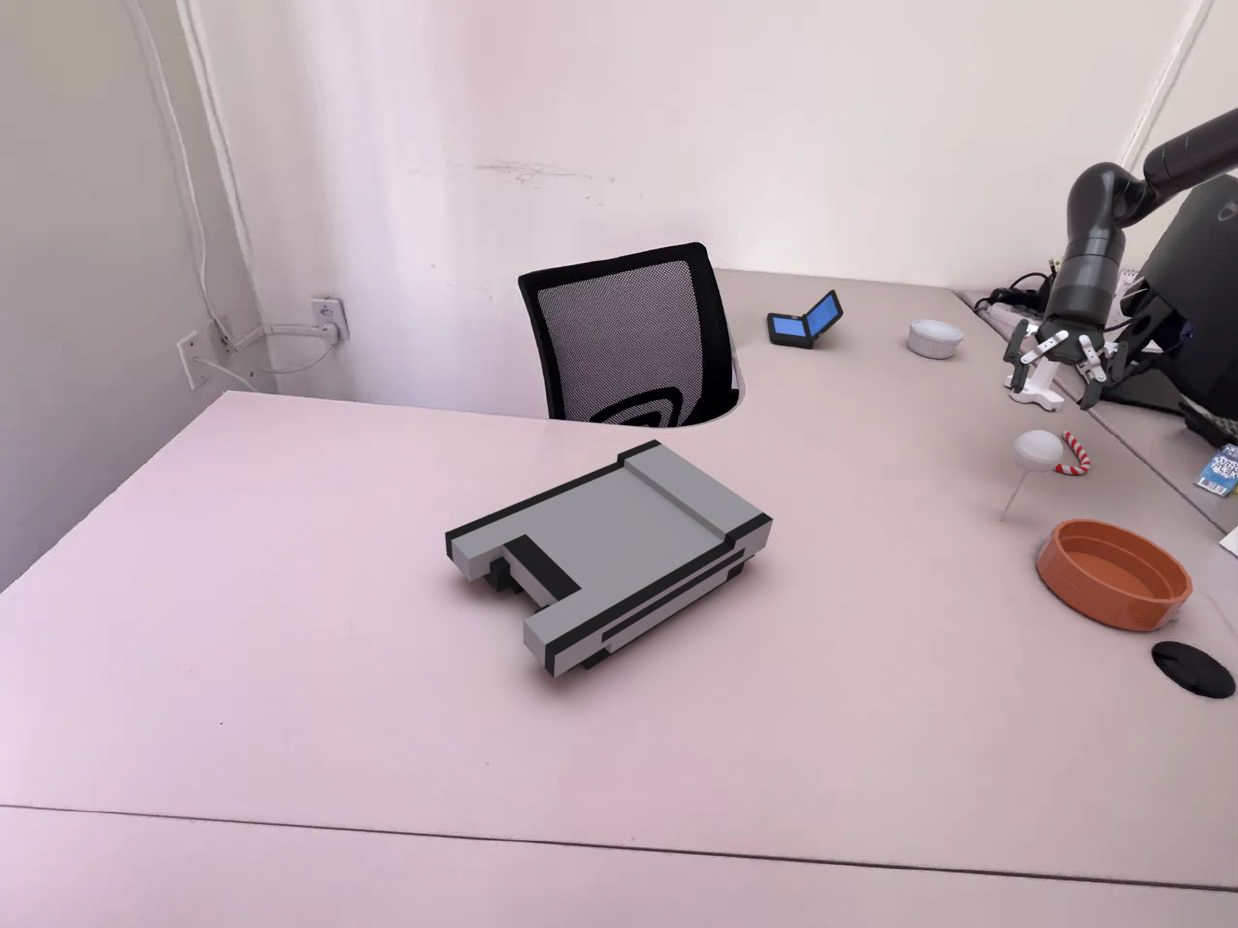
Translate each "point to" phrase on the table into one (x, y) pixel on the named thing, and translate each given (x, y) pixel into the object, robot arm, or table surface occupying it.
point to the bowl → (1113, 574)
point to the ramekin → (933, 338)
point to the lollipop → (1035, 456)
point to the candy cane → (1079, 452)
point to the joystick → (1039, 387)
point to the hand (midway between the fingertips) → (1051, 400)
